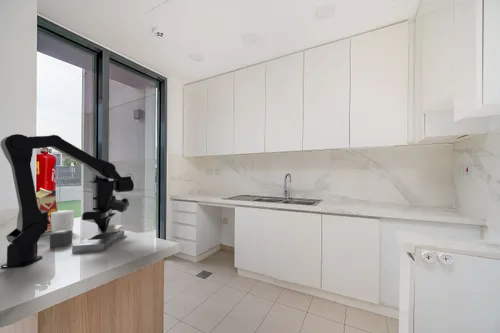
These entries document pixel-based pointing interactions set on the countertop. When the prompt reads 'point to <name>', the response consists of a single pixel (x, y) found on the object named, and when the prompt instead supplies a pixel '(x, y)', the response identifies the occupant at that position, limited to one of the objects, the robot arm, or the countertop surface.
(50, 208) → the milk carton
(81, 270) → the countertop surface
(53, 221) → the white cup
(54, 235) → the plug
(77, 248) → the socket plate
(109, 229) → the panel
